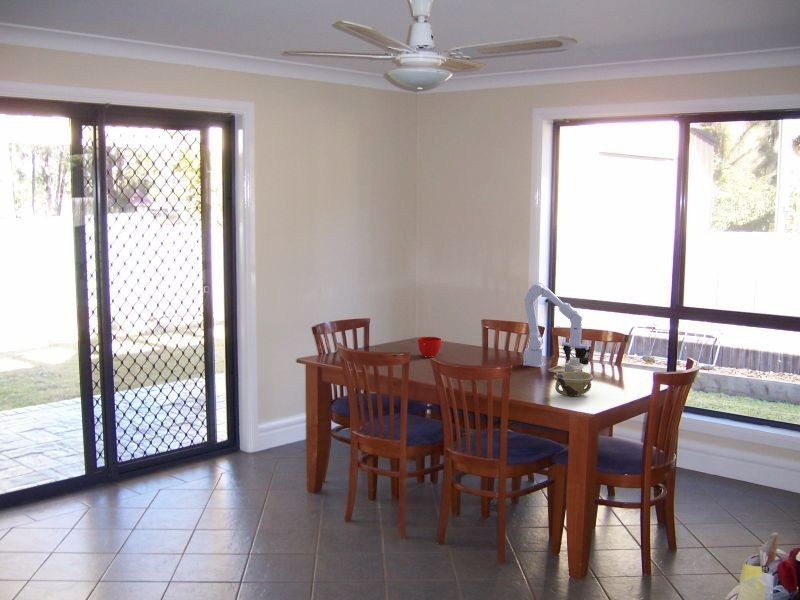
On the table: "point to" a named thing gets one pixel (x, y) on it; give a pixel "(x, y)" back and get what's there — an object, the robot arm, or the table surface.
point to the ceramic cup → (429, 345)
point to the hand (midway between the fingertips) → (574, 361)
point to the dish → (578, 366)
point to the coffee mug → (577, 353)
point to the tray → (561, 369)
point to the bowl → (573, 383)
